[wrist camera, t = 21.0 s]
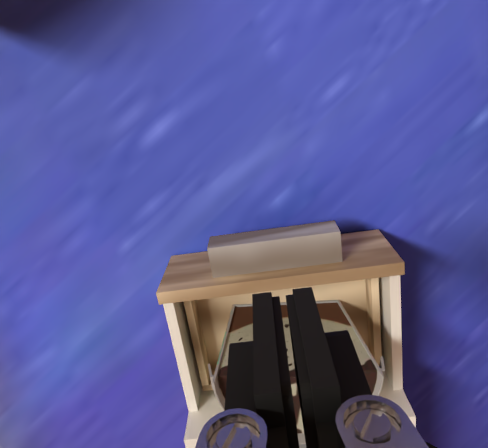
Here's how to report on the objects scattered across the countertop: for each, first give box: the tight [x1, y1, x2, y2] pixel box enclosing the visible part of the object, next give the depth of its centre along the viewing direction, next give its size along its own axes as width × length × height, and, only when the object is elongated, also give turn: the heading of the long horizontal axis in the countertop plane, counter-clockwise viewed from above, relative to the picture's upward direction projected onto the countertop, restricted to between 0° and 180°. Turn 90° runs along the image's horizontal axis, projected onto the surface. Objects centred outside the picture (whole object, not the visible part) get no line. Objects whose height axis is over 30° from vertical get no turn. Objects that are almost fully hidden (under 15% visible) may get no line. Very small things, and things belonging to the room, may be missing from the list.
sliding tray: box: [156, 221, 405, 391], centre depth 36 cm, size 14×18×7 cm
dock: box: [163, 275, 416, 448], centre depth 38 cm, size 22×18×10 cm
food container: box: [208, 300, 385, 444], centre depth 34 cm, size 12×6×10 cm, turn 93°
